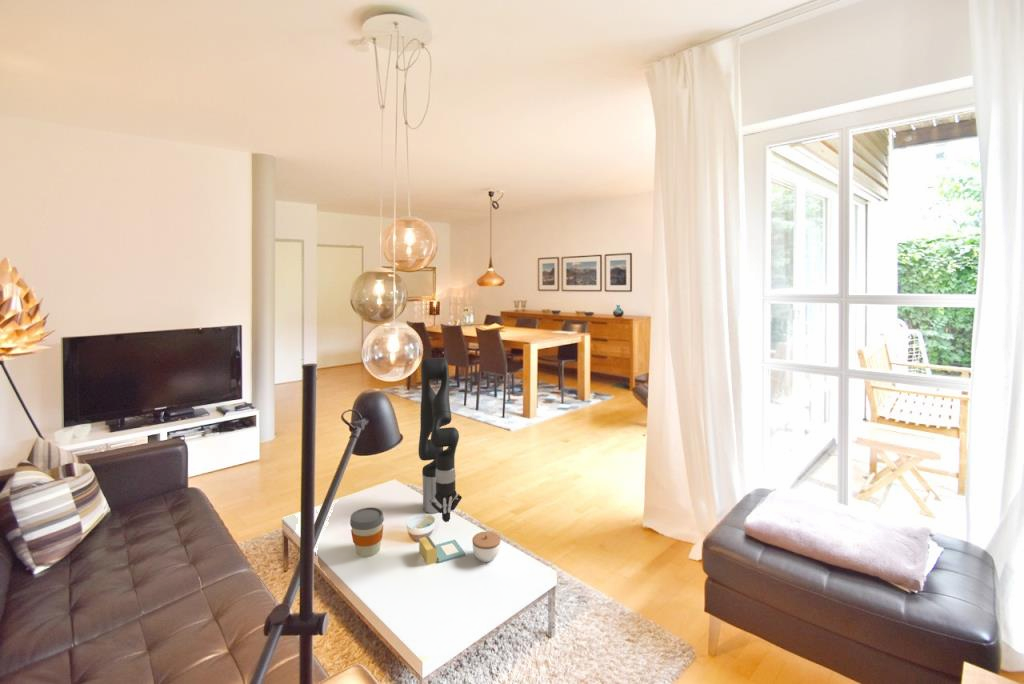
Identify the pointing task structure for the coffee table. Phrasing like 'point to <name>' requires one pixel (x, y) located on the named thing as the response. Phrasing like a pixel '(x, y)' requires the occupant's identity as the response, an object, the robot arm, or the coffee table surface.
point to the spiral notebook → (449, 551)
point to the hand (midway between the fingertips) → (446, 521)
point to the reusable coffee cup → (367, 531)
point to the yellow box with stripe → (428, 550)
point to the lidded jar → (486, 546)
